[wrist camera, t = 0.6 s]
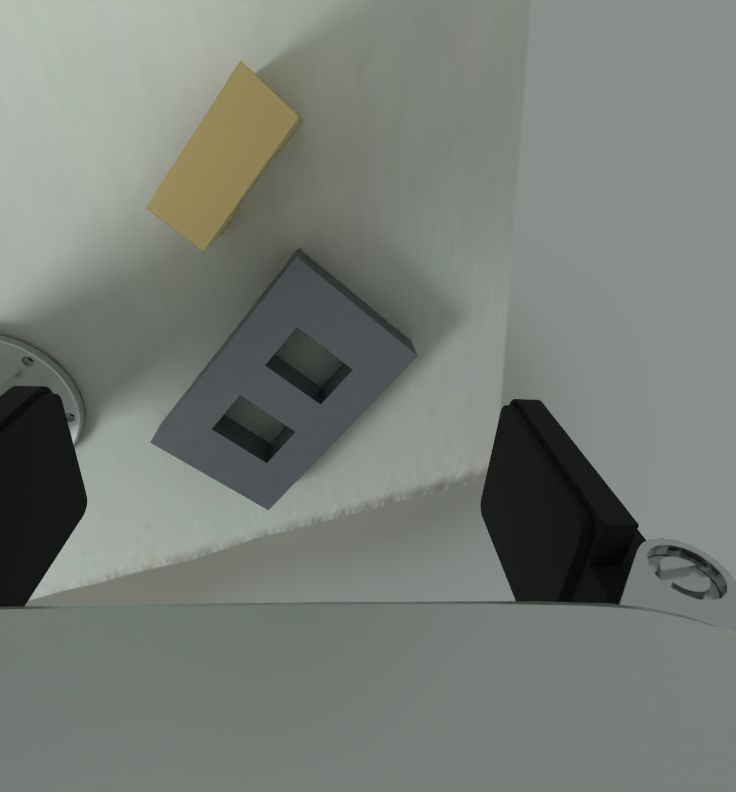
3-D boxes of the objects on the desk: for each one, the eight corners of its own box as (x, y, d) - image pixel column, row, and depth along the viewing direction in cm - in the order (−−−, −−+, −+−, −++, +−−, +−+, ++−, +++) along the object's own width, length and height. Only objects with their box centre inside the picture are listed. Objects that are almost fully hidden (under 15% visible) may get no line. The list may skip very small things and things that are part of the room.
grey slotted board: (271, 489, 48) (268, 510, 45) (160, 423, 44) (150, 442, 41) (411, 341, 42) (417, 355, 39) (299, 248, 37) (297, 256, 35)
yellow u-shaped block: (220, 235, 37) (203, 251, 31) (172, 197, 35) (145, 208, 30) (303, 119, 33) (299, 116, 28) (254, 73, 32) (240, 60, 27)
